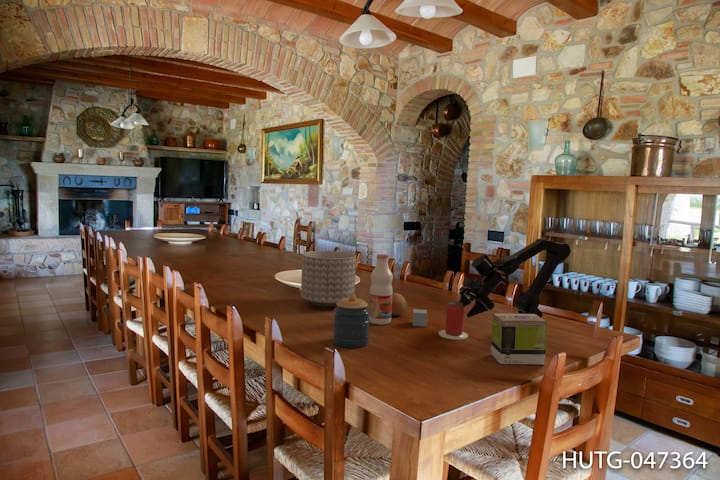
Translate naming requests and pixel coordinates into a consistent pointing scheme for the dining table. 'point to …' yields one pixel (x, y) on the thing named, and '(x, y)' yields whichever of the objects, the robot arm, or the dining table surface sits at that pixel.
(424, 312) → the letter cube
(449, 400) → the dining table surface
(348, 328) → the canister
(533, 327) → the tea box
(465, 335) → the coaster
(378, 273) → the fruit juice
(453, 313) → the beer can
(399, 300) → the onion
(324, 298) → the planter
